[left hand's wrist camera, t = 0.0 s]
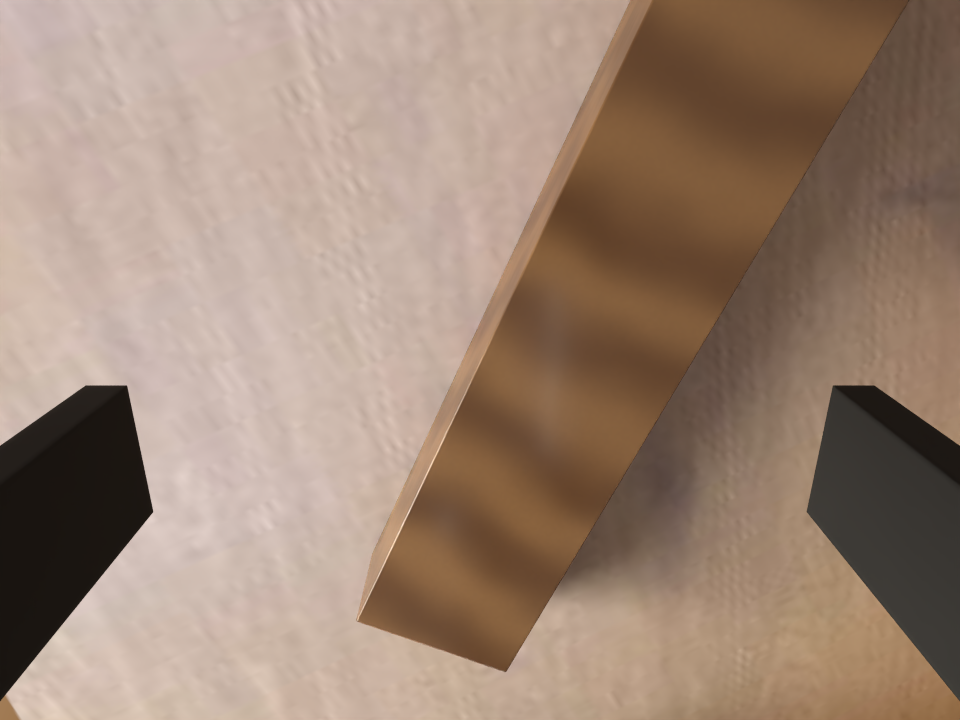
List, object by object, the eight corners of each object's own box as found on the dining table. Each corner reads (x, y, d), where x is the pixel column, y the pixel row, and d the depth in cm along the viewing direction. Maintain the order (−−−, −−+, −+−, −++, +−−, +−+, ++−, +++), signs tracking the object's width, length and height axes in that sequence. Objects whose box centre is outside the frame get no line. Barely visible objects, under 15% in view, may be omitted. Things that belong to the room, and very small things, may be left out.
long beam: (502, 600, 49) (505, 673, 42) (372, 553, 47) (355, 621, 41) (1261, -733, 26) (1512, -1003, 19) (1053, -907, 24) (1252, -1260, 18)
